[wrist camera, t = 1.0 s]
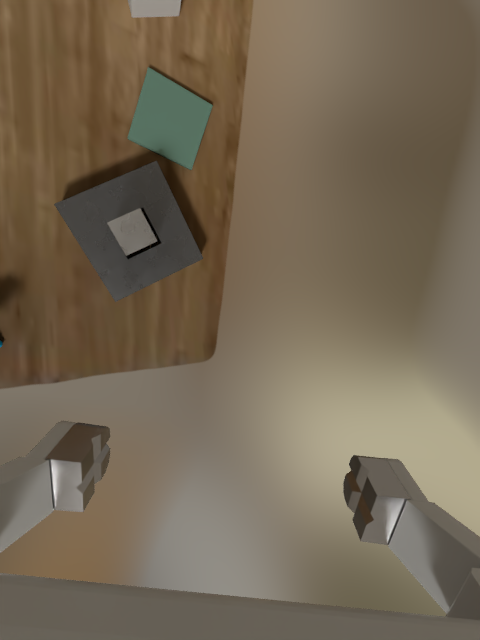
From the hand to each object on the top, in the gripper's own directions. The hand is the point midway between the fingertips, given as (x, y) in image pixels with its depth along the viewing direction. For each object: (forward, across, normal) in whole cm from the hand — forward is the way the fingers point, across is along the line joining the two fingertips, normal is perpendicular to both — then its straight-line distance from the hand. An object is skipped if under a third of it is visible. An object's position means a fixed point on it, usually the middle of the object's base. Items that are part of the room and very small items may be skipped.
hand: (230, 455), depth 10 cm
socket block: (+36, +16, -4) cm, 40 cm away
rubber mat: (+39, +12, -19) cm, 45 cm away
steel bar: (+36, +16, -4) cm, 40 cm away
